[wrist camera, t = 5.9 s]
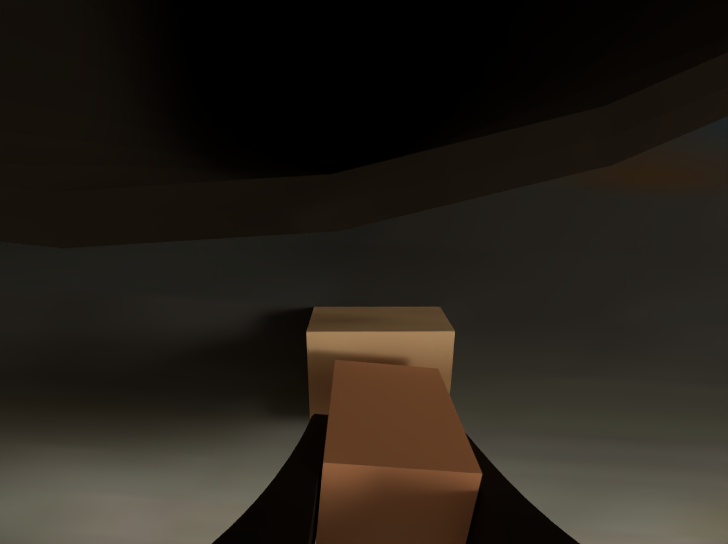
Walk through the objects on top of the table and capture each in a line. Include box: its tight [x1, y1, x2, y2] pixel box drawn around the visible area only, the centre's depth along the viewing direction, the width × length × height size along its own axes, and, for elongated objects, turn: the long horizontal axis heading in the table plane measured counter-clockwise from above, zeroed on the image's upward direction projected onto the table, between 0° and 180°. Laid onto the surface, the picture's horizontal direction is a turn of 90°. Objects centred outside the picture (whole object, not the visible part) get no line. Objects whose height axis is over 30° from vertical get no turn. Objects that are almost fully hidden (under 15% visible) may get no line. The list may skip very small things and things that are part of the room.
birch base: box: [306, 307, 455, 419], centre depth 17 cm, size 6×6×3 cm
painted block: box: [316, 360, 482, 544], centre depth 12 cm, size 4×4×5 cm
